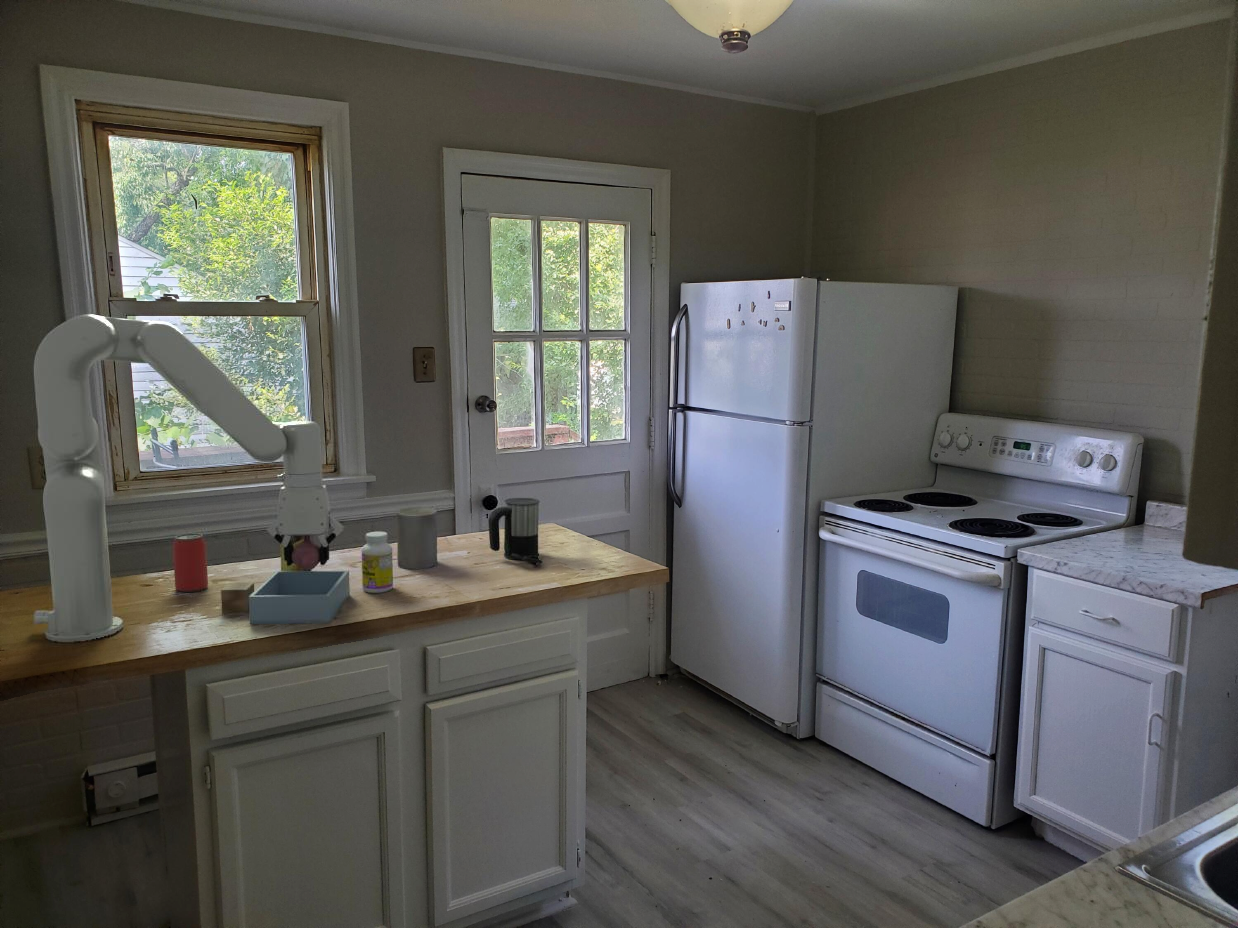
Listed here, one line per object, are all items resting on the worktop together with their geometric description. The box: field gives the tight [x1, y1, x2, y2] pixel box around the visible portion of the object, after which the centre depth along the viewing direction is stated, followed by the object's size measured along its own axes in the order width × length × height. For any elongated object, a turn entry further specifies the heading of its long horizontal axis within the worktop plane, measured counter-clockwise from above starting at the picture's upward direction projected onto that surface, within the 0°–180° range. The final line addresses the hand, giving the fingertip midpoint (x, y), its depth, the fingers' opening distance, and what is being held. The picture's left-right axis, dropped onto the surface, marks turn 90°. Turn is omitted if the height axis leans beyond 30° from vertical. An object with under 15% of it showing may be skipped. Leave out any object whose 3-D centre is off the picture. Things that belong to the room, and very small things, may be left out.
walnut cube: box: [220, 582, 255, 614], centre depth 181 cm, size 5×5×5 cm
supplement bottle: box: [361, 531, 394, 594], centre depth 196 cm, size 7×7×13 cm
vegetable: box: [292, 535, 321, 573], centre depth 185 cm, size 6×6×10 cm
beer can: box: [172, 532, 209, 593], centre depth 194 cm, size 7×7×12 cm
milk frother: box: [487, 497, 543, 566], centre depth 223 cm, size 14×16×15 cm
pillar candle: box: [396, 505, 438, 570], centre depth 217 cm, size 10×10×15 cm
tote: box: [248, 570, 351, 625], centre depth 182 cm, size 15×18×6 cm
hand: (307, 563), depth 186 cm, fingers closed on vegetable, 6 cm apart
